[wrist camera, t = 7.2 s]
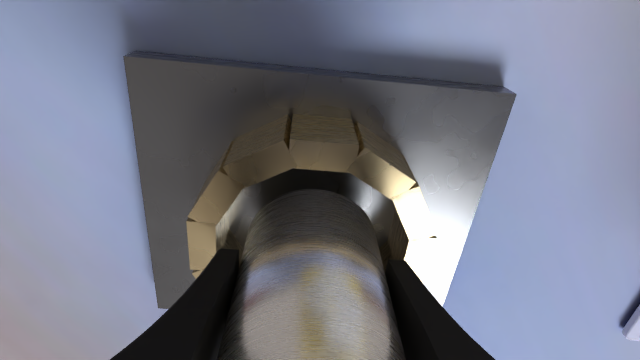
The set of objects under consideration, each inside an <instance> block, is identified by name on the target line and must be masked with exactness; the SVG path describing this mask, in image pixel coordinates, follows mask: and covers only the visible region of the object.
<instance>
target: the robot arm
mask: <svg viewBox="0 0 640 360" xmlns="http://www.w3.org/2000/svg"><path fill="white" fill-rule="evenodd" d="M238 270H239V250H237V249H222V248H221V249H219V250H218V251H217V252H216V254H215V255H214V257H213V258H212V259H211V261H210V262H209V263H208V265H207V266H206V267H205V269H204V270H203V271H202V272H201V274H200V275H199V276H198V277H197V279H196V280H195V281H194V282H193V283H192V284H191V286H190V287H189V288H188V289H187V290H186V291H185V293H184V294H183V295H182V296H181V297H180V298H179V299H178V300H177V301H176V302H175V303H174V304H173V305H172V306H171V307H170V308H169V309H168V310H167V311H166V312H165V313H164V314H163V315H162V316H161V317H160V318H159V319H158V320H157V321H156V322H155V323H154V324H153V325H152V326H151V327H149V328H148V329H147V330H146V331H145V332H144V333H143V334H141V335H140V336H139V337H138V338H137V339H135V340H134V341H133V342H132V343H130V344H129V345H128V346H127V347H126V348H124V349H123V350H122V351H120V352H119V353H118V354H117V355H115V356H114V357H113V358H111V359H110V360H217V356H218V352H219V348H220V344H221V340H222V336H223V332H224V328H225V324H226V320H227V315H228V311H229V307H230V303H231V299H232V295H233V291H234V287H235V283H236V279H237V275H238ZM385 276H386V280H387V284H388V288H389V292H390V297H391V301H392V305H393V309H394V313H395V317H396V321H397V325H398V330H399V334H400V338H401V342H402V346H403V350H404V354H405V358H406V360H495V359H494V358H493V357H492V356H491V355H489V354H488V353H487V352H486V351H485V350H484V349H483V348H482V347H481V346H480V345H479V344H478V343H476V342H475V341H474V340H473V339H472V338H471V337H470V336H469V335H468V334H467V333H466V332H465V331H464V330H463V329H462V328H461V327H460V326H459V325H458V323H457V322H456V321H455V320H454V319H453V318H452V317H451V316H450V315H449V314H448V313H447V311H446V310H445V309H444V308H443V307H442V306H441V304H440V303H439V302H438V301H437V300H436V298H435V297H434V296H433V295H432V294H431V292H430V291H429V290H428V289H427V287H426V286H425V285H424V284H423V282H422V281H421V280H420V278H419V277H418V276H417V274H416V273H415V272H414V271H413V269H412V268H411V267H410V265H409V264H408V263H407V262H406V260H390V259H388V262H387V266H386V271H385ZM622 334H623V335H624V336H625V337H626V338H627V339H628V340H633V341H640V305H639V306H638V308H637V309H636V311H635V312H634V314H633V315H632V316H631V318H630V319H629V321H628V322H627V324H626V325H625V327H624V328H623V330H622Z"/></svg>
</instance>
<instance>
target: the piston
mask: <svg viewBox="0 0 640 360" xmlns="http://www.w3.org/2000/svg"><path fill="white" fill-rule="evenodd" d="M217 360H406V358H405V354H404V350H403V346H402V342H401V338H400V334H399V330H398V325H397V321H396V317H395V313H394V309H393V305H392V301H391V297H390V292H389V288H388V284H387V280H386V276H385V272H384V268H383V264H382V259H381V255H380V251H379V247H378V243H377V239H376V235H375V231H374V227H373V225H372V222H371V220H370V219H369V217H368V215H367V214H366V213H365V212H364V210H363V209H362V208H361V207H360V206H358V205H357V204H356V203H355V202H353V201H352V200H350V199H348V198H346V197H345V196H342V195H340V194H337V193H334V192H330V191H326V190H318V189H305V190H297V191H293V192H289V193H286V194H283V195H281V196H279V197H277V198H275V199H273V200H271V201H270V202H268V203H267V204H266V205H265V206H263V207H262V208H261V209H260V210H259V211H258V213H257V214H256V215H255V217H254V218H253V220H252V222H251V224H250V226H249V230H248V234H247V238H246V242H245V246H244V250H243V254H242V258H241V262H240V266H239V270H238V275H237V279H236V283H235V287H234V291H233V295H232V299H231V303H230V307H229V311H228V315H227V320H226V324H225V328H224V332H223V336H222V340H221V344H220V348H219V352H218V356H217Z"/></svg>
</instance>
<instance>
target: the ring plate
mask: <svg viewBox="0 0 640 360" xmlns="http://www.w3.org/2000/svg"><path fill="white" fill-rule="evenodd" d="M124 63H125V70H126V77H127V85H128V92H129V99H130V107H131V114H132V121H133V128H134V136H135V143H136V150H137V158H138V165H139V172H140V179H141V187H142V194H143V201H144V209H145V216H146V223H147V231H148V238H149V245H150V252H151V260H152V267H153V274H154V282H155V289H156V296H157V303H158V308H164V309H169V308H170V307H171V306H172V305H173V304H174V303H175V302H176V301H177V300H178V299H179V298H180V297H181V296H182V295H183V294H184V293H185V291H186V290H187V289H188V288H189V287H190V286H191V284H192V283H193V282H194V281H195V280H196V279H197V277H198V276H199V275H200V274H201V272H202V271H203V270H204V269H205V267H206V266H207V265H208V263H209V262H210V261H211V259H212V258H213V257H214V255H215V254H216V252H217V251H218V250H219V249H221V248H222V249H237V250H239V266H240V262H241V258H242V254H243V250H244V246H245V242H246V238H247V234H248V230H249V226H250V224H251V222H252V220H253V218H254V217H255V215H256V214H257V213H258V211H259V210H260V209H261V208H262V207H263V206H265V205H266V204H267V203H268V202H270V201H271V200H273V199H275V198H277V197H279V196H281V195H283V194H286V193H289V192H293V191H297V190H305V189H318V190H326V191H330V192H334V193H337V194H340V195H342V196H345V197H346V198H348V199H350V200H352V201H353V202H355V203H356V204H357V205H358V206H360V207H361V208H362V209H363V210H364V212H365V213H366V214H367V215H368V217H369V219H370V220H371V222H372V225H373V227H374V231H375V235H376V239H377V243H378V247H379V251H380V255H381V259H382V264H383V268H384V272H385V271H386V266H387V262H388V259H390V260H406V262H407V263H408V264H409V265H410V267H411V268H412V269H413V271H414V272H415V273H416V274H417V276H418V277H419V278H420V280H421V281H422V282H423V284H424V285H425V286H426V287H427V289H428V290H429V291H430V292H431V294H432V295H433V296H434V297H435V298H436V300H437V301H438V302H439V303H440V304H441V306H442V307H443V304H444V301H445V298H446V295H447V292H448V289H449V287H450V284H451V281H452V278H453V275H454V272H455V269H456V266H457V264H458V261H459V258H460V255H461V252H462V249H463V246H464V244H465V241H466V238H467V235H468V232H469V229H470V226H471V223H472V221H473V218H474V215H475V212H476V209H477V206H478V203H479V201H480V198H481V195H482V192H483V189H484V186H485V183H486V180H487V178H488V175H489V172H490V169H491V166H492V163H493V160H494V158H495V155H496V152H497V149H498V146H499V143H500V140H501V137H502V135H503V132H504V129H505V126H506V123H507V120H508V117H509V115H510V112H511V109H512V106H513V103H514V100H515V97H516V94H515V93H514V92H512V91H510V90H508V89H507V88H505V87H498V86H488V85H478V84H468V83H457V82H447V81H437V80H427V79H417V78H406V77H396V76H386V75H376V74H366V73H355V72H345V71H335V70H325V69H315V68H304V67H294V66H284V65H274V64H264V63H253V62H243V61H233V60H223V59H213V58H202V57H192V56H182V55H172V54H162V53H151V52H141V51H134V52H132V53H130V54H127V55H125V56H124Z"/></svg>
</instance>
